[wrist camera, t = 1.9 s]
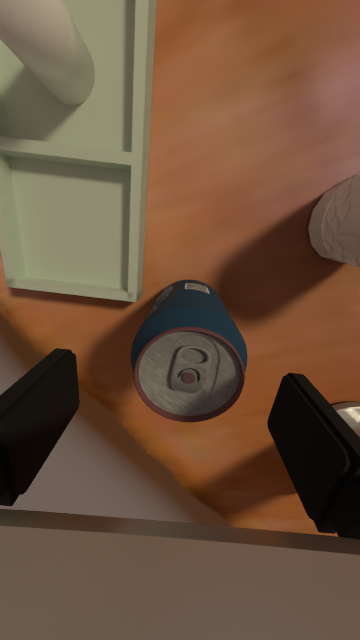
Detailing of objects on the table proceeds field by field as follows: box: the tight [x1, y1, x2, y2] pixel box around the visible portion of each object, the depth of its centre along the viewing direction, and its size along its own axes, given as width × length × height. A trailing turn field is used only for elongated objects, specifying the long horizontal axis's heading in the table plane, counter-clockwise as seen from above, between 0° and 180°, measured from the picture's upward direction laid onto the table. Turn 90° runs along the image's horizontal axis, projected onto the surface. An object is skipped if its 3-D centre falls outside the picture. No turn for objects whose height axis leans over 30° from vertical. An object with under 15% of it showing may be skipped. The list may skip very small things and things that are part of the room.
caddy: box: [0, 0, 157, 302], centre depth 17 cm, size 22×12×2 cm, turn 173°
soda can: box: [131, 280, 247, 422], centre depth 16 cm, size 7×7×12 cm
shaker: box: [0, 0, 95, 106], centre depth 11 cm, size 4×4×9 cm
